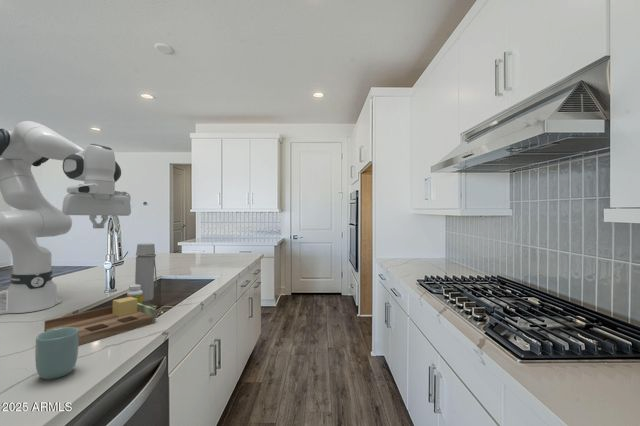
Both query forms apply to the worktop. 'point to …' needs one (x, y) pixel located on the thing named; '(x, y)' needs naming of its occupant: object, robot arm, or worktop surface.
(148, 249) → the water bottle
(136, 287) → the supplement bottle
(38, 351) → the cup
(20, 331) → the worktop surface
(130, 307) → the block
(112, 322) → the box
